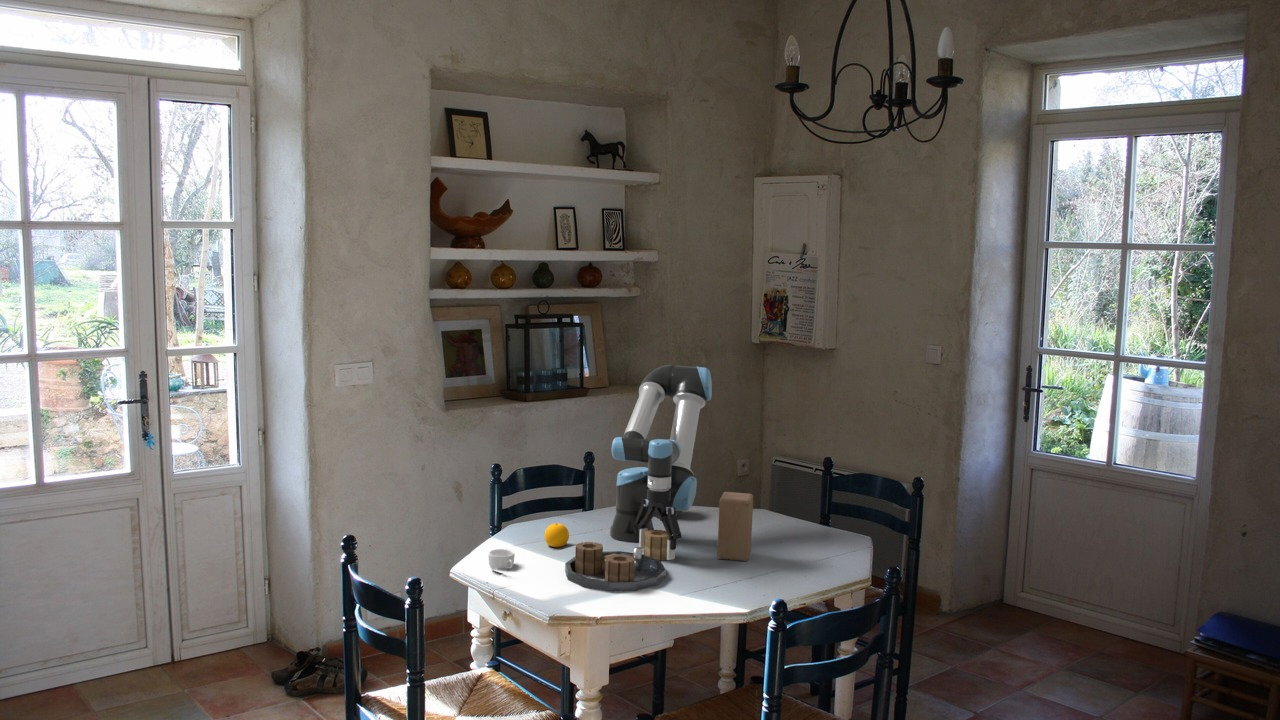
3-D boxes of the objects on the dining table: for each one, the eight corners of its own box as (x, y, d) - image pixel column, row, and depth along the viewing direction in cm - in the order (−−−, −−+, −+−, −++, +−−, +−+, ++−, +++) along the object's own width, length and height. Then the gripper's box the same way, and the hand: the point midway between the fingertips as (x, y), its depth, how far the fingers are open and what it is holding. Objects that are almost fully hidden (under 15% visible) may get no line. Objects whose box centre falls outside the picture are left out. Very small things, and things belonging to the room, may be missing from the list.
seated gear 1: (569, 570, 294) (570, 545, 293) (587, 564, 300) (588, 540, 299) (589, 576, 288) (589, 551, 288) (607, 570, 295) (608, 546, 294)
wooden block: (748, 562, 312) (750, 500, 310) (716, 559, 314) (719, 498, 312) (750, 553, 322) (753, 493, 319) (720, 550, 324) (723, 490, 321)
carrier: (546, 575, 293) (547, 548, 292) (622, 558, 312) (623, 533, 311) (606, 603, 271) (607, 575, 270) (684, 583, 290) (685, 557, 289)
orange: (553, 550, 317) (554, 528, 316) (539, 544, 323) (540, 522, 322) (573, 546, 322) (574, 524, 322) (559, 540, 328) (559, 518, 327)
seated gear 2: (600, 585, 281) (601, 560, 280) (613, 577, 288) (613, 552, 287) (625, 590, 278) (626, 564, 277) (637, 582, 285) (638, 557, 284)
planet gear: (638, 555, 315) (639, 532, 315) (657, 550, 321) (658, 528, 320) (655, 561, 309) (656, 538, 309) (674, 557, 314) (675, 534, 314)
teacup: (483, 568, 297) (483, 551, 296) (505, 564, 302) (505, 547, 301) (500, 577, 289) (501, 560, 289) (523, 573, 294) (523, 555, 294)
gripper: (625, 482, 320) (622, 545, 322) (676, 498, 301) (673, 565, 303) (642, 479, 324) (640, 542, 327) (694, 495, 305) (691, 561, 308)
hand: (656, 553), depth 315 cm, fingers open, 13 cm apart
